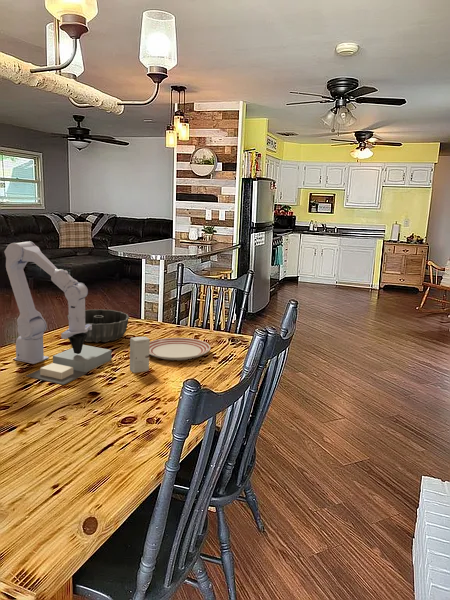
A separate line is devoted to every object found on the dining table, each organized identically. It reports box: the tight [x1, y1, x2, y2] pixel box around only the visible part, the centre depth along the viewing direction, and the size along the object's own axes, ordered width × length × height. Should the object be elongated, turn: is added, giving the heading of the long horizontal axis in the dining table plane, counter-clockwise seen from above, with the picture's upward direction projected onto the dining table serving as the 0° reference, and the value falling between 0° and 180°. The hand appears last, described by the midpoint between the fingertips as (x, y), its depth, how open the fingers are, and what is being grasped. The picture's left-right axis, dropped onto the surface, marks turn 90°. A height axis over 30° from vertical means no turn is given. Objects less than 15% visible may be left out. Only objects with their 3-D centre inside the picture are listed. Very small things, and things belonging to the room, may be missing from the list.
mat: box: [25, 369, 88, 386], centre depth 162 cm, size 16×12×1 cm
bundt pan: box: [66, 308, 130, 344], centre depth 206 cm, size 26×26×10 cm
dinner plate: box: [149, 337, 211, 362], centre depth 191 cm, size 28×27×3 cm
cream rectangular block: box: [39, 362, 73, 379], centre depth 161 cm, size 9×6×2 cm, turn 69°
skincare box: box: [129, 336, 151, 374], centre depth 169 cm, size 6×4×12 cm
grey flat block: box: [52, 344, 112, 373], centre depth 174 cm, size 14×16×4 cm
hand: (77, 353), depth 171 cm, fingers closed
